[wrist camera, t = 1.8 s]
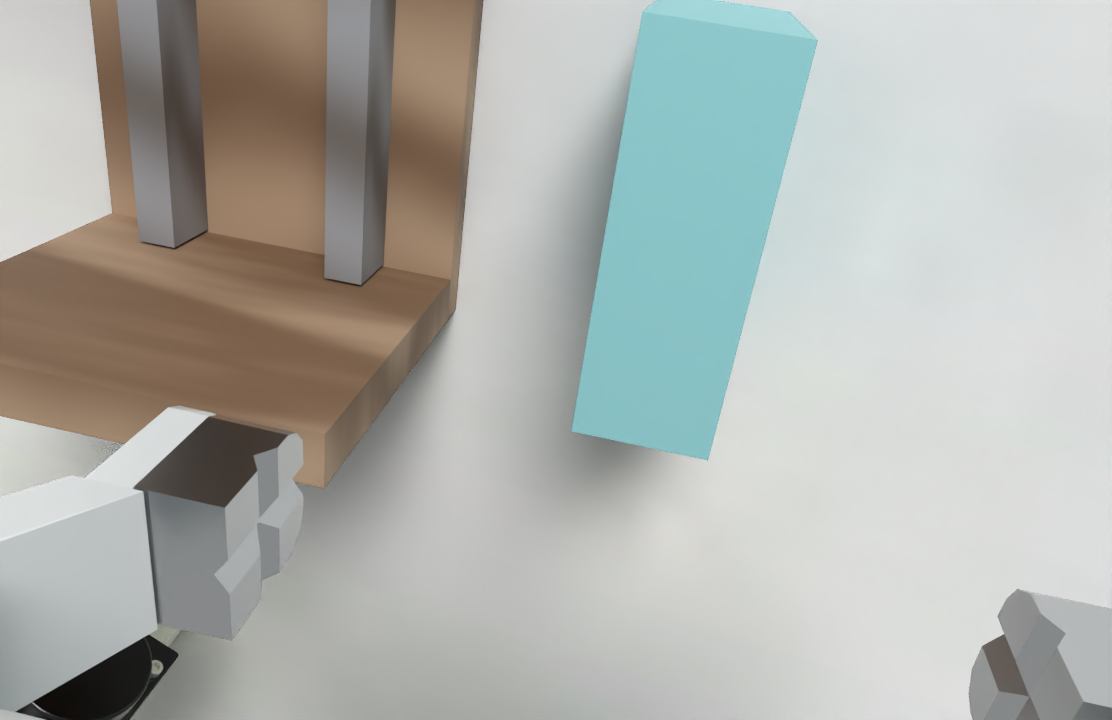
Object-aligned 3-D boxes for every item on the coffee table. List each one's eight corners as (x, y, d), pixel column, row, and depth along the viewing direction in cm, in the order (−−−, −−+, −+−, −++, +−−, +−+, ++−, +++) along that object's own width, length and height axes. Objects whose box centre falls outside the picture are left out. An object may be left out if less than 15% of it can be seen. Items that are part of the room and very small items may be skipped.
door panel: (712, 331, 28) (707, 460, 21) (608, 311, 29) (571, 431, 22) (789, 11, 24) (817, 39, 17) (666, -8, 24) (642, 11, 17)
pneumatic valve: (255, 555, 36) (61, 807, 26) (150, 693, 42) (-46, 950, 31) (144, 480, 36) (-103, 708, 25) (52, 629, 41) (-184, 871, 30)
